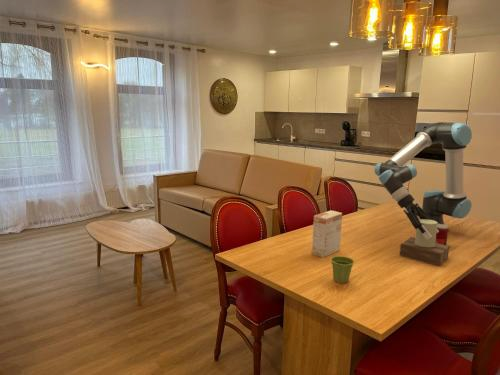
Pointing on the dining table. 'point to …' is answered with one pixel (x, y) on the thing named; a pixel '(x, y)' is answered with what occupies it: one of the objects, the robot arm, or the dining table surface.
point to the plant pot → (341, 268)
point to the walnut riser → (424, 252)
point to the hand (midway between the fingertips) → (433, 235)
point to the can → (431, 228)
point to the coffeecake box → (326, 233)
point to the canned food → (442, 234)
